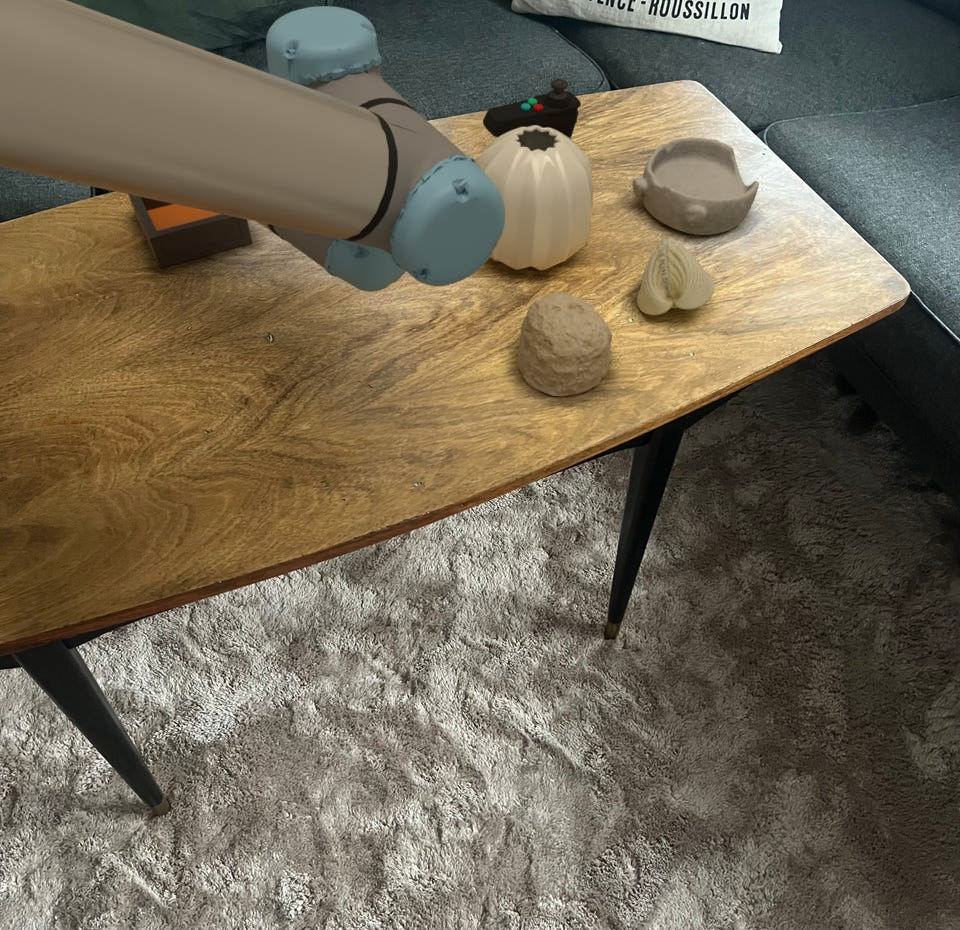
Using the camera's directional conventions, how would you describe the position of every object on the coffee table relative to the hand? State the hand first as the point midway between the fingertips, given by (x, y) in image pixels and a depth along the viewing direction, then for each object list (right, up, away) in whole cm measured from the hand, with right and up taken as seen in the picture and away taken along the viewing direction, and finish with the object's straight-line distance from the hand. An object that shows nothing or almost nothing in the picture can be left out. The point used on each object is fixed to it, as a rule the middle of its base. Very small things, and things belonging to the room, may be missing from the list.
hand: (118, 81), depth 80 cm
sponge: (+43, -27, +3) cm, 51 cm away
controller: (+41, +1, +26) cm, 49 cm away
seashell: (+56, -19, +10) cm, 60 cm away
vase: (+40, -12, +15) cm, 45 cm away
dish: (+61, -5, +21) cm, 65 cm away
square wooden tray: (+2, -10, +15) cm, 18 cm away
